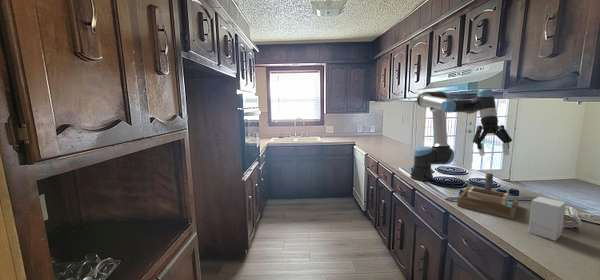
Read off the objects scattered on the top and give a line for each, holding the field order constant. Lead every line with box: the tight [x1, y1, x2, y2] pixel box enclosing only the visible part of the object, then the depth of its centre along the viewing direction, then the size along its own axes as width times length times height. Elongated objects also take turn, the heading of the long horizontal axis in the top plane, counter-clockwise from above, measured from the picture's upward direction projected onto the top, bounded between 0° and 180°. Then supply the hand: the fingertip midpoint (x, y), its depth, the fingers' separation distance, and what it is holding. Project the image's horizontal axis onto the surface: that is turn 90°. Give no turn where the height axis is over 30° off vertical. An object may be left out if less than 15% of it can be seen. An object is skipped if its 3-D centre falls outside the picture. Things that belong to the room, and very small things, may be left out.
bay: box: [456, 187, 519, 220], centre depth 140 cm, size 22×24×6 cm
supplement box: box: [527, 196, 567, 242], centre depth 110 cm, size 9×9×15 cm
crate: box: [467, 172, 509, 206], centre depth 135 cm, size 10×16×17 cm, turn 46°
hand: (494, 155), depth 138 cm, fingers open, 13 cm apart
